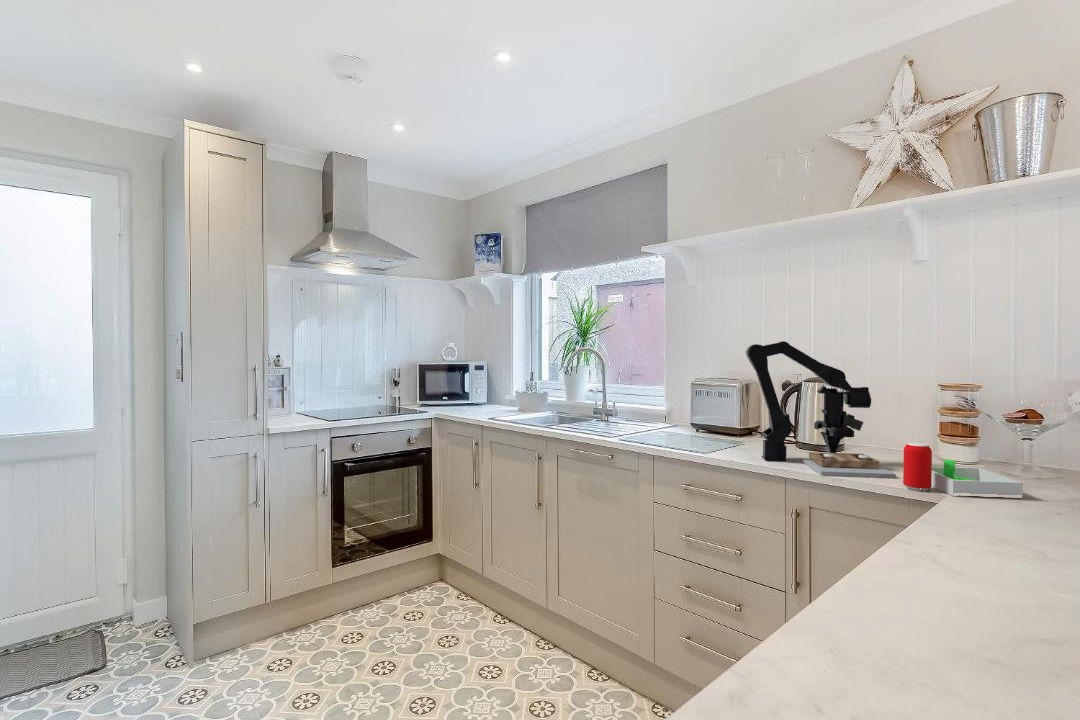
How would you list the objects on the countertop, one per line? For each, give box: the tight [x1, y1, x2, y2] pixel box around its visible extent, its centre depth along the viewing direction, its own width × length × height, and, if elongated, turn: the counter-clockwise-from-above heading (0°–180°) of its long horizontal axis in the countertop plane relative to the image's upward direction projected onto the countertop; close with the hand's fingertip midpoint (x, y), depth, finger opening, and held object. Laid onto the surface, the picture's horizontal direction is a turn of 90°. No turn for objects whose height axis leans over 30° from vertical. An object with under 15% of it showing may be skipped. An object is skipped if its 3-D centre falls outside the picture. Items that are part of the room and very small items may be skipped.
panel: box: [808, 451, 880, 468], centre depth 172 cm, size 16×12×2 cm
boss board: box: [802, 454, 897, 479], centre depth 169 cm, size 20×18×4 cm
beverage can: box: [902, 442, 933, 492], centre depth 147 cm, size 6×6×12 cm
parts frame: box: [931, 466, 1024, 496], centre depth 146 cm, size 16×17×4 cm
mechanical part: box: [943, 459, 974, 481], centre depth 147 cm, size 12×6×8 cm, turn 139°
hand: (832, 454), depth 180 cm, fingers closed
